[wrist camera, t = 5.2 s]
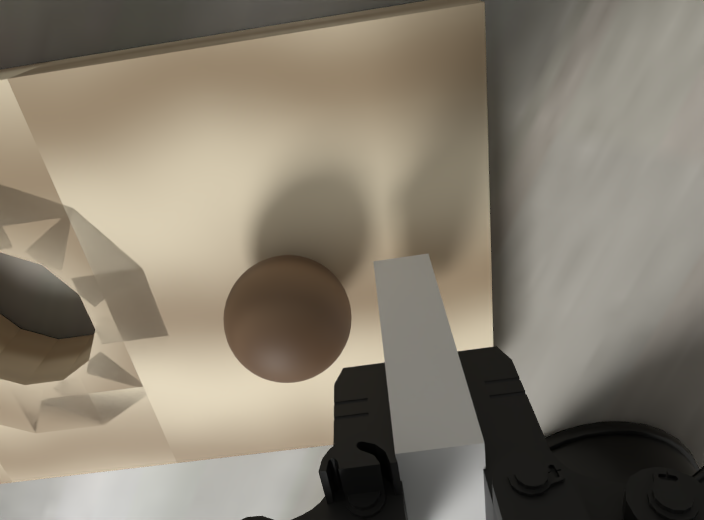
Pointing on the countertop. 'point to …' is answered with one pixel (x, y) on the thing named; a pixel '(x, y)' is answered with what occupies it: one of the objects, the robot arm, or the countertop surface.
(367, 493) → the robot arm
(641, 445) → the french press
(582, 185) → the countertop surface
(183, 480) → the countertop surface
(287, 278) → the ball
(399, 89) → the cutting board
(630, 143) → the countertop surface
